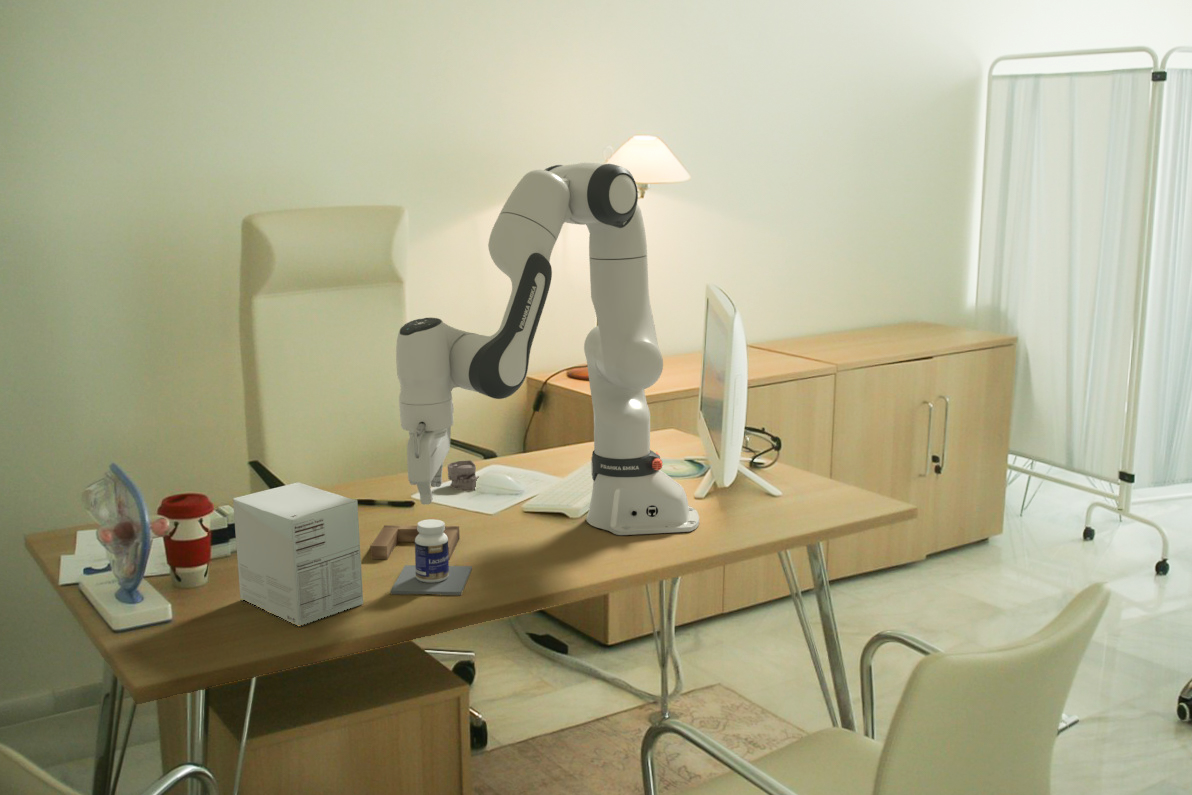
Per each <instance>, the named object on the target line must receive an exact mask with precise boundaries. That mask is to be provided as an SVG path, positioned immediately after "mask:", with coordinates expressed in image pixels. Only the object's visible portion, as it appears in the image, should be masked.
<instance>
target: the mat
mask: <svg viewBox="0 0 1192 795" xmlns="http://www.w3.org/2000/svg"><path fill="white" fill-rule="evenodd" d="M472 569H473V567H472V565H449V576H448V578H447V579H445V580H443V581H440V582H435V583H427V582H422V581H419V580H418V579H417V578H416V566H415V564H414V565H413V564H412V565H411V564H409V565H408V564H406V565H404V566H403V568H402V570H401V571H400V574H399V575H398V577H397V579H396V580H395V582H394V583H393V585H392V587H391V589H390V595H410V594H438V595H437V596H462V594H463V592H462V591H464V589H465V587H464V586H466V585H465V584H467V582H468V579H469V577H470V575H471V572H472ZM391 593H392V594H391ZM440 594H441V595H440Z"/></svg>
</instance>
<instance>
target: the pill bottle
mask: <svg viewBox="0 0 1192 795" xmlns="http://www.w3.org/2000/svg"><path fill="white" fill-rule="evenodd" d="M416 526H417V531H418V532H419V534H418V535H417V536H416V538H415V542H414V552H415V553H414V555H415V556H414V559H415V561H414V562H415V564H414V565H415V566H416V578H417V579H418V580H419V581H422V582H427V583H435V582H440V581H443V580H445V579H447V578H448V576H449V566H450V564H449V561H450V560H449V557H448V537H447V535H446V534H445V533H443V532H444V530H445V526H446V524H445V521H442V520H440V519H434V518H433V519H432V518H431V519H430V518H429V519H423V520H420V521H418V522H417V525H416Z"/></svg>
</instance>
